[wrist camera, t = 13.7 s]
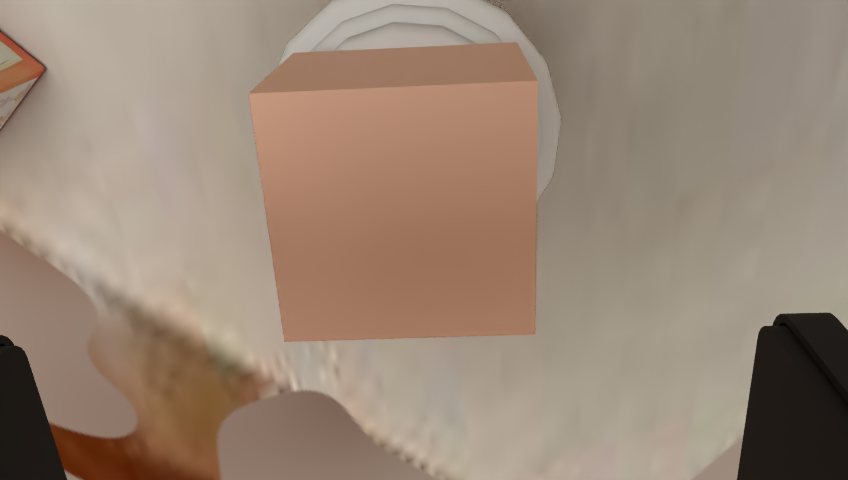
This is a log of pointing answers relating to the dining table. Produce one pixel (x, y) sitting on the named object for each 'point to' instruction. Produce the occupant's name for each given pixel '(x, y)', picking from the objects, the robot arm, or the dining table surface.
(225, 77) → the dining table surface
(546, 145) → the coffee cup
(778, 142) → the dining table surface
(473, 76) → the stacking block
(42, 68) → the cracker box
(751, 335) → the dining table surface
